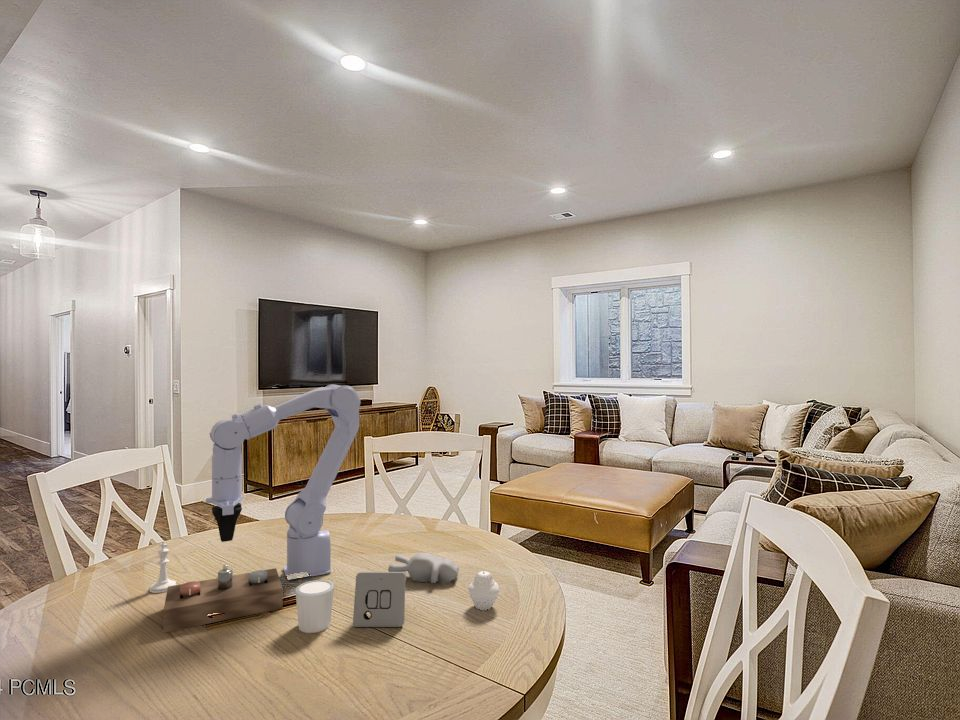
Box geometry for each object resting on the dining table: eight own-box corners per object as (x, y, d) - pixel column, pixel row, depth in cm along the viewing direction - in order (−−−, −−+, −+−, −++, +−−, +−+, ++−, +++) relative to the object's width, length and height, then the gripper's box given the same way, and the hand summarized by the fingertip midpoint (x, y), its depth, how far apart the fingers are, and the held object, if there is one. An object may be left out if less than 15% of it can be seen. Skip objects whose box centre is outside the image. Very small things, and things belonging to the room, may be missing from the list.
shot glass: (341, 619, 97) (341, 582, 97) (318, 637, 91) (319, 597, 91) (311, 613, 100) (311, 577, 100) (286, 630, 93) (287, 591, 93)
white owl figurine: (484, 617, 98) (484, 580, 98) (461, 607, 102) (461, 571, 102) (505, 606, 103) (505, 570, 103) (482, 596, 107) (482, 562, 107)
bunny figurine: (455, 570, 110) (387, 559, 112) (453, 594, 111) (384, 583, 112) (461, 554, 120) (398, 544, 121) (458, 576, 120) (396, 565, 121)
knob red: (200, 606, 101) (200, 580, 101) (200, 614, 98) (200, 587, 98) (180, 610, 100) (180, 583, 100) (179, 619, 96) (179, 591, 96)
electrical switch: (352, 628, 94) (353, 575, 95) (358, 617, 99) (360, 567, 100) (403, 628, 94) (404, 575, 95) (407, 617, 99) (408, 567, 100)
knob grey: (266, 594, 107) (266, 569, 107) (268, 601, 104) (268, 575, 104) (248, 597, 105) (248, 572, 105) (249, 605, 102) (249, 578, 102)
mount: (276, 586, 111) (276, 568, 111) (282, 608, 102) (282, 587, 102) (167, 606, 102) (167, 586, 102) (163, 632, 92) (163, 610, 92)
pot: (232, 583, 104) (232, 562, 104) (232, 588, 101) (232, 566, 101) (217, 586, 102) (217, 564, 102) (217, 591, 100) (217, 568, 100)
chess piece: (163, 594, 108) (164, 546, 108) (143, 592, 109) (144, 544, 109) (181, 584, 113) (182, 538, 113) (162, 582, 114) (162, 536, 114)
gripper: (206, 471, 115) (205, 533, 115) (205, 485, 102) (205, 554, 102) (241, 468, 118) (240, 528, 118) (244, 481, 105) (244, 548, 105)
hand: (226, 540), depth 110 cm, fingers closed
